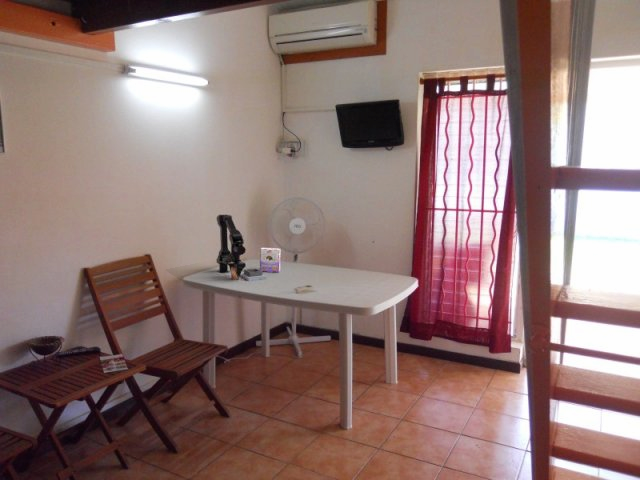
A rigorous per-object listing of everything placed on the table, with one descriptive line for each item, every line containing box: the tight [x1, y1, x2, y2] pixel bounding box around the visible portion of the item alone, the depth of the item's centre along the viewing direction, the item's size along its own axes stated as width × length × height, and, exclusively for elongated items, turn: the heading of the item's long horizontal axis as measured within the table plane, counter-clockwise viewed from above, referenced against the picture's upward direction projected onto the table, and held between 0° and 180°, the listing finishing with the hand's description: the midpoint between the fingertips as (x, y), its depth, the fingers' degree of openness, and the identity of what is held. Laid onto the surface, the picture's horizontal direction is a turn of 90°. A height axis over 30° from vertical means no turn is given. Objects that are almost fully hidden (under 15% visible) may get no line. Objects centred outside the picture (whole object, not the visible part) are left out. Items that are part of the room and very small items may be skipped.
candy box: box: [259, 247, 282, 273], centre depth 351 cm, size 14×6×16 cm, turn 84°
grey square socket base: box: [239, 268, 267, 282], centre depth 333 cm, size 17×13×5 cm
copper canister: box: [230, 266, 240, 281], centre depth 326 cm, size 5×5×8 cm
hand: (235, 275), depth 326 cm, fingers open, 9 cm apart
